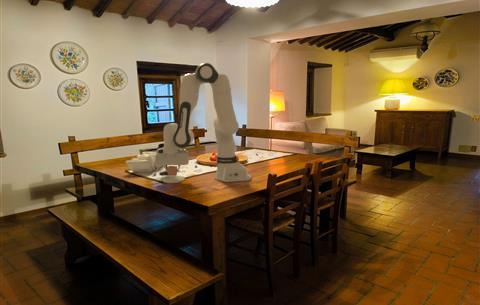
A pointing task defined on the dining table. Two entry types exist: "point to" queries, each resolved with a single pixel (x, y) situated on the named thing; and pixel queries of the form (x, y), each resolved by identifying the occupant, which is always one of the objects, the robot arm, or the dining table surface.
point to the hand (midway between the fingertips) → (172, 171)
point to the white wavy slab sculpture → (144, 163)
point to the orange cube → (172, 170)
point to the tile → (173, 179)
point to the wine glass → (166, 166)
